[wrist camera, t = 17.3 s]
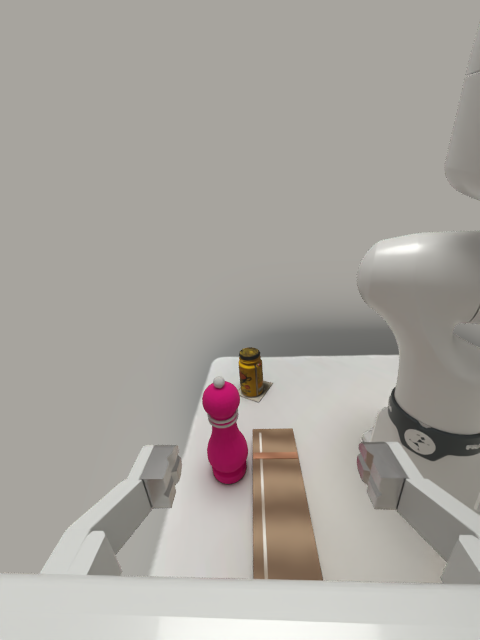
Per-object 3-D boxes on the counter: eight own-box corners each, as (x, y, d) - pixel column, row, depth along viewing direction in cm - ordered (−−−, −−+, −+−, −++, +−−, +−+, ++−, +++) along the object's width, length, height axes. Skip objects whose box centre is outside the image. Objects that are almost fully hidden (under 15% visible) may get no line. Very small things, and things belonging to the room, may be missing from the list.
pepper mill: (257, 463, 44) (251, 373, 37) (231, 496, 39) (218, 399, 32) (228, 444, 49) (218, 360, 41) (202, 471, 44) (185, 381, 36)
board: (253, 440, 49) (252, 428, 48) (292, 439, 49) (292, 428, 48) (255, 679, 23) (253, 667, 22) (338, 684, 23) (341, 672, 22)
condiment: (234, 394, 63) (230, 355, 59) (250, 377, 70) (247, 340, 65) (258, 403, 60) (256, 361, 55) (273, 384, 66) (272, 345, 62)
